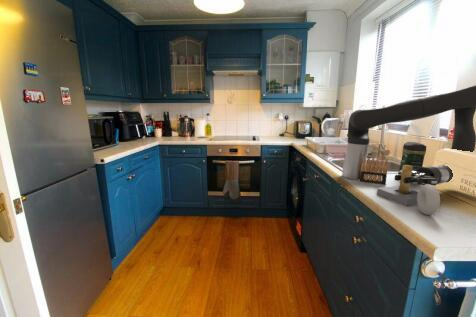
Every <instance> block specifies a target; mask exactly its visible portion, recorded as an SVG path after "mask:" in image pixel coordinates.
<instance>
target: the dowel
mask: <svg viewBox="0 0 476 317" xmlns="http://www.w3.org/2000/svg"><path fill="white" fill-rule="evenodd" d="M412 169H413V166H410V165H403V169H402V174H401V180H399V185H400V186H399V185H398V186H399V193H402V194H405V195H406V194H408V191H409V189H410V185H411V183H407V184H406V183H404V178H405V177H411V175H412Z"/></svg>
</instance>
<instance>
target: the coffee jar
mask: <svg viewBox="0 0 476 317" xmlns="http://www.w3.org/2000/svg"><path fill="white" fill-rule="evenodd" d="M426 153H427V145H425V144H422V143H420V142H416V141H406V142H405V143H403V145H402V154H401V160H400V164H399V170H398V172H399V171H400V170H402V169H403V165H410V166H413V169H412V171H416V170H417V169H418V168H420V167H424V166H423V165H424V159H425V155H426Z"/></svg>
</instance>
